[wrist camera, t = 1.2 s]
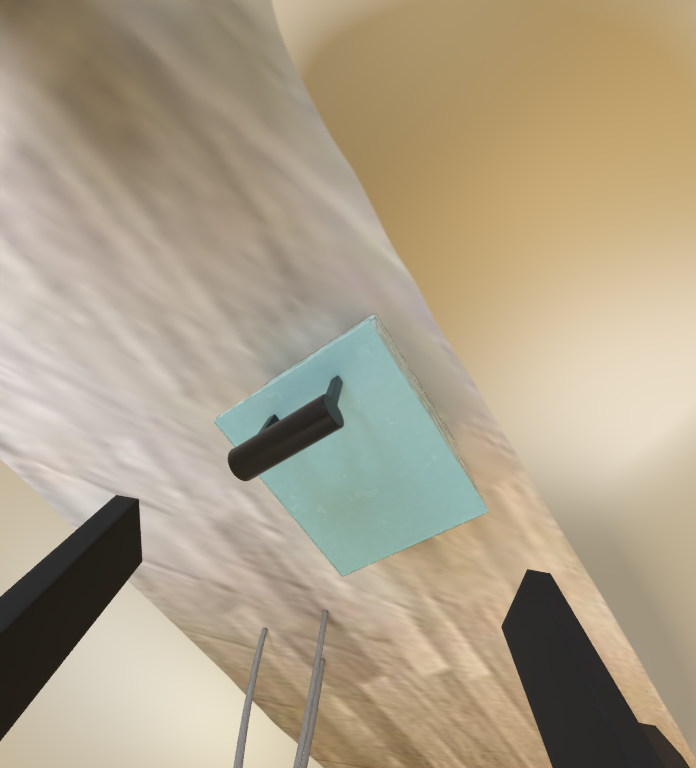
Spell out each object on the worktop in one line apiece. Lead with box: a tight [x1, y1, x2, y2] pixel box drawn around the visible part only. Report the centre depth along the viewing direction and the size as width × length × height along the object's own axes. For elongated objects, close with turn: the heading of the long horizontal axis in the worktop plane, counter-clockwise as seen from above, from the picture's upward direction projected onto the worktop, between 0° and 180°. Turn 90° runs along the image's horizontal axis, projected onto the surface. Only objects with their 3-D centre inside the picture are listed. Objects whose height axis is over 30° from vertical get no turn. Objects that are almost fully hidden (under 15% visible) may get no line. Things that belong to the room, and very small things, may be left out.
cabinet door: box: [214, 320, 489, 577], centre depth 24 cm, size 19×15×8 cm
